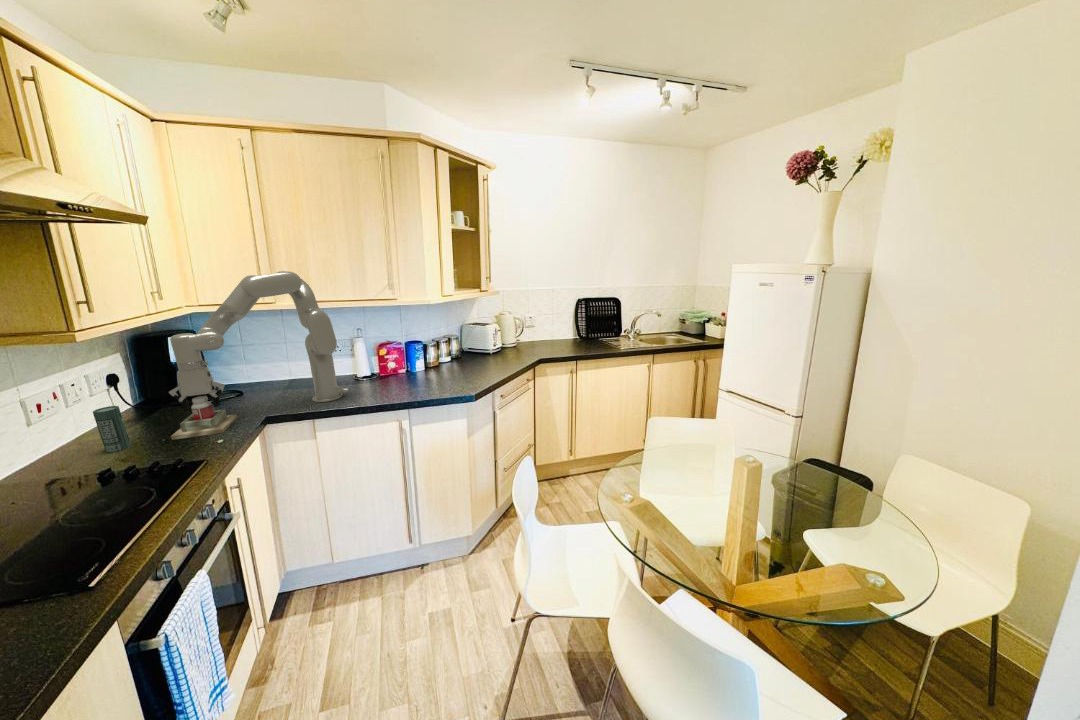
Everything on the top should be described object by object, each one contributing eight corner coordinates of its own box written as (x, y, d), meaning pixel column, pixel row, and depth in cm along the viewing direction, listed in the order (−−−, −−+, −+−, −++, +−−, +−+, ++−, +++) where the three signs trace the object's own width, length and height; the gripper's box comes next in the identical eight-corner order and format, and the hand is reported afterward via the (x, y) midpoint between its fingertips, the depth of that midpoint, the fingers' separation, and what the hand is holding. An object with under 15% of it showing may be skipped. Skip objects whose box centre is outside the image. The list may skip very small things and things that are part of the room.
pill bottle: (218, 420, 164) (212, 394, 162) (212, 425, 159) (206, 399, 156) (199, 422, 162) (193, 396, 160) (193, 428, 157) (186, 401, 154)
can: (133, 443, 149) (122, 404, 145) (124, 450, 143) (112, 410, 140) (112, 446, 147) (99, 407, 143) (102, 453, 141) (88, 413, 137)
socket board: (237, 417, 171) (234, 406, 169) (223, 432, 156) (220, 420, 155) (190, 423, 166) (187, 412, 164) (171, 439, 151) (168, 427, 150)
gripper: (221, 360, 161) (232, 401, 165) (167, 366, 155) (179, 408, 160) (214, 365, 154) (225, 407, 158) (157, 371, 148) (170, 415, 153)
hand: (202, 408), depth 159 cm, fingers open, 9 cm apart
